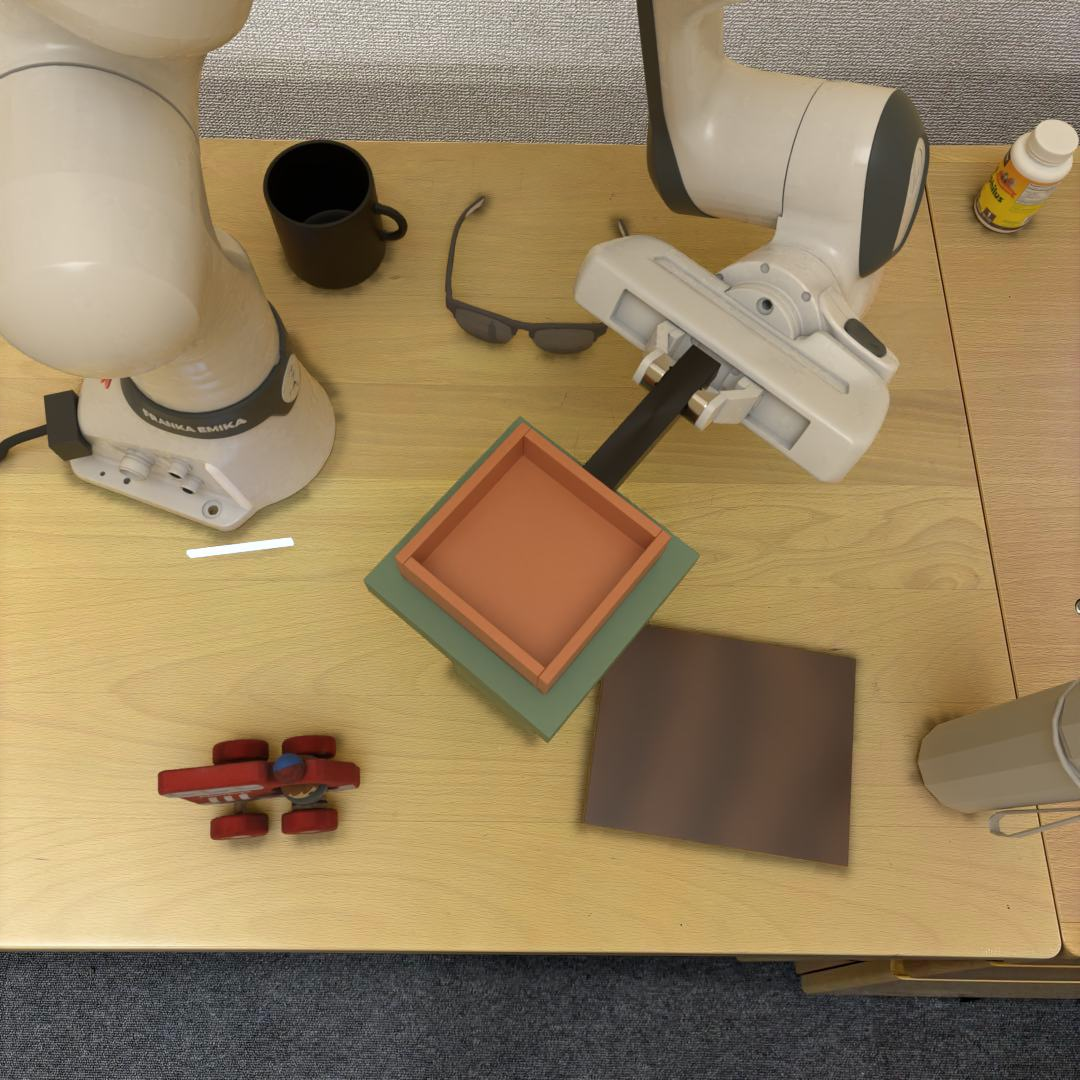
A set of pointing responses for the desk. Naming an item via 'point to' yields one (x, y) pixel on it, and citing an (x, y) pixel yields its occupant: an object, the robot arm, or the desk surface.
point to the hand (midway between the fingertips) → (671, 396)
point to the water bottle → (1009, 757)
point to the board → (725, 745)
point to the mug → (328, 213)
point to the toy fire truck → (266, 784)
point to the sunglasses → (504, 329)
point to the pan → (549, 536)
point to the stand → (492, 671)
